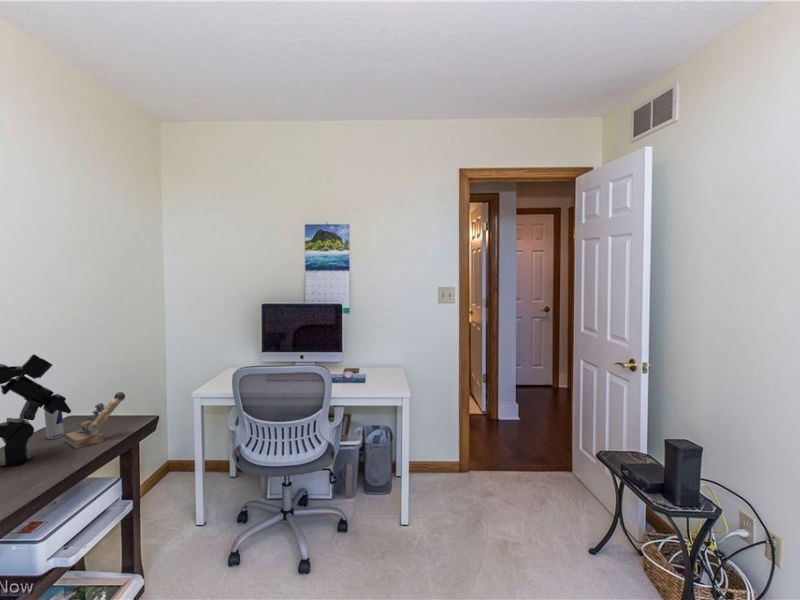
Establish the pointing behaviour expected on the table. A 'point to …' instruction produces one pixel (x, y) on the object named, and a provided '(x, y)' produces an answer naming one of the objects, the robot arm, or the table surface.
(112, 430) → the table surface
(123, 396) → the lever
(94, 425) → the press bench
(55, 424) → the energy drink
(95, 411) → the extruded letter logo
